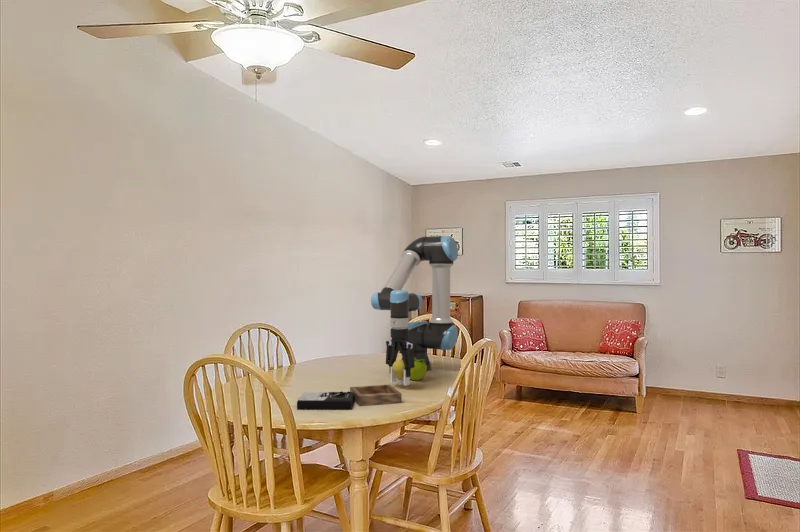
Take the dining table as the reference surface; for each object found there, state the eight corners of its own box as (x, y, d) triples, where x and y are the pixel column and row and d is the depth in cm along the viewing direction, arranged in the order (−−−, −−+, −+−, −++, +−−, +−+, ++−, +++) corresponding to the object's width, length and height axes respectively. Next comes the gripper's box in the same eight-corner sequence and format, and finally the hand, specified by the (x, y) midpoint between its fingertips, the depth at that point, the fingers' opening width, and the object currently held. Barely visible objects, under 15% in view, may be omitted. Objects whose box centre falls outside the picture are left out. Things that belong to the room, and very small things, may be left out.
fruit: (415, 376, 246) (415, 354, 246) (430, 380, 239) (430, 357, 239) (401, 379, 239) (401, 357, 239) (416, 383, 233) (416, 360, 233)
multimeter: (351, 411, 189) (351, 397, 189) (296, 411, 190) (296, 396, 190) (354, 401, 203) (354, 388, 203) (303, 401, 203) (303, 388, 203)
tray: (389, 392, 215) (389, 384, 215) (401, 402, 199) (401, 393, 199) (350, 395, 210) (350, 387, 210) (359, 406, 195) (359, 396, 195)
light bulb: (391, 382, 226) (391, 358, 226) (407, 381, 226) (407, 358, 226) (392, 386, 219) (392, 361, 219) (409, 385, 220) (408, 361, 219)
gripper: (376, 326, 226) (376, 381, 227) (411, 331, 213) (411, 389, 213) (388, 325, 232) (389, 378, 232) (423, 328, 218) (424, 385, 219)
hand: (400, 383), depth 223 cm, fingers closed on light bulb, 7 cm apart
